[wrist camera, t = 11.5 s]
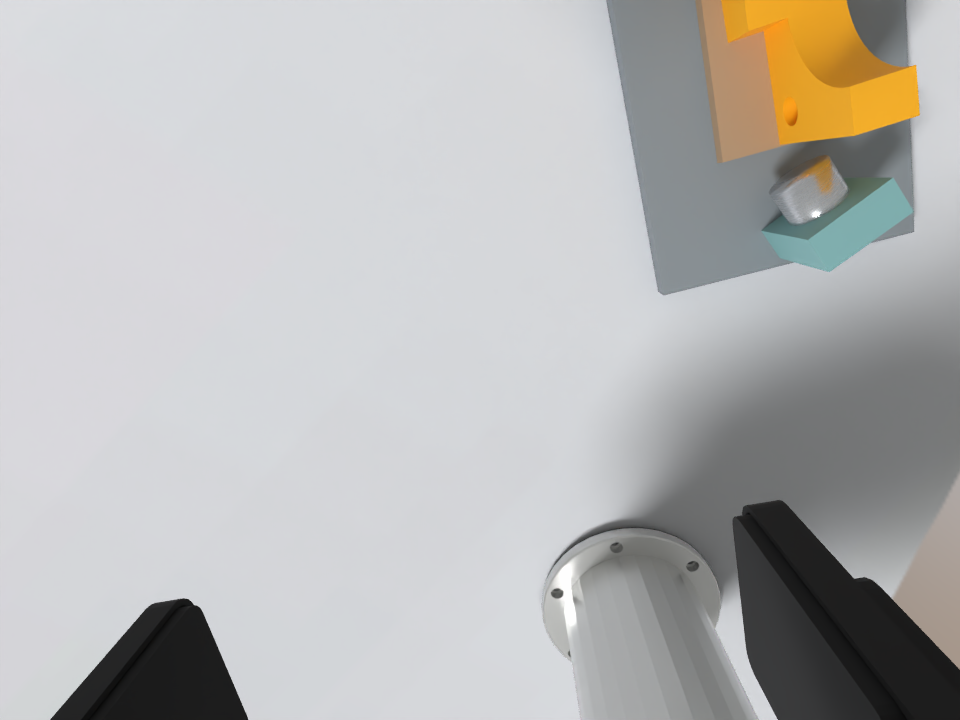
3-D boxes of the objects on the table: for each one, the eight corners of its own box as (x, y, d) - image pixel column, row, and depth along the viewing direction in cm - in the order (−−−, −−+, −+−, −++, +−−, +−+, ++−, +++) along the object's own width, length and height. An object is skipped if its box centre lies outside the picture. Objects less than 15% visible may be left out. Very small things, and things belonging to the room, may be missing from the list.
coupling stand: (899, 229, 32) (988, 241, 26) (658, 291, 34) (692, 315, 28) (873, -348, 25) (989, -512, 19) (564, -236, 26) (583, -355, 20)
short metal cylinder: (851, 223, 30) (888, 227, 28) (802, 258, 31) (833, 267, 28) (809, 156, 29) (842, 153, 27) (759, 194, 30) (786, 196, 27)
